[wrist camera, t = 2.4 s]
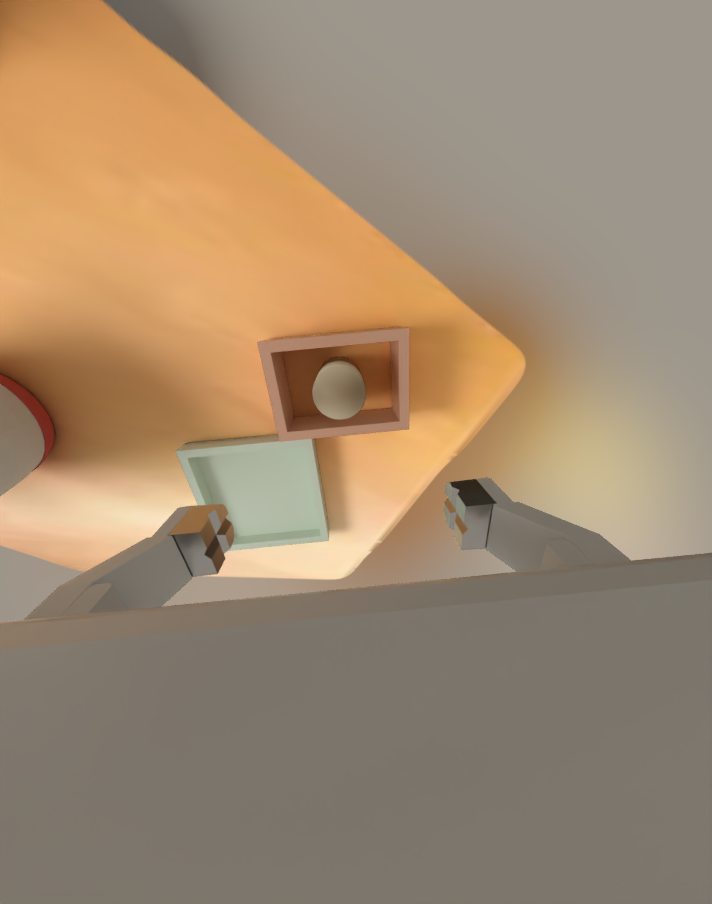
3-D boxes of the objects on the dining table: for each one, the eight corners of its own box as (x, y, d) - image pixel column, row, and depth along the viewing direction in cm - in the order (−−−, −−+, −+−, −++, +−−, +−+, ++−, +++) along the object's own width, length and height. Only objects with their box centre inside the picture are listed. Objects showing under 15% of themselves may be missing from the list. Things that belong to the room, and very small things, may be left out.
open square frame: (270, 338, 30) (257, 342, 25) (398, 326, 30) (409, 327, 25) (287, 425, 34) (279, 441, 29) (400, 414, 34) (409, 429, 30)
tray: (185, 443, 34) (175, 451, 32) (313, 430, 34) (311, 438, 32) (223, 539, 41) (217, 551, 39) (329, 529, 41) (328, 540, 39)
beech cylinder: (315, 359, 31) (308, 368, 24) (359, 354, 31) (364, 363, 24) (321, 402, 33) (316, 421, 27) (362, 398, 33) (367, 417, 27)
